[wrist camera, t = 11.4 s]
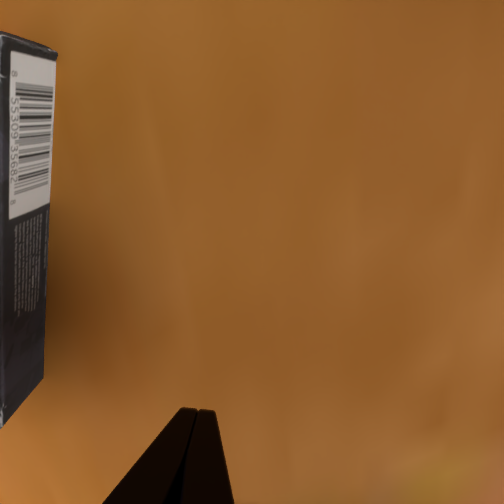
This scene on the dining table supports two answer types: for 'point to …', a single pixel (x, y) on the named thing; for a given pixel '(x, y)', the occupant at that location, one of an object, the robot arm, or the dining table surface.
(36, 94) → the box
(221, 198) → the dining table surface
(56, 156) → the dining table surface
